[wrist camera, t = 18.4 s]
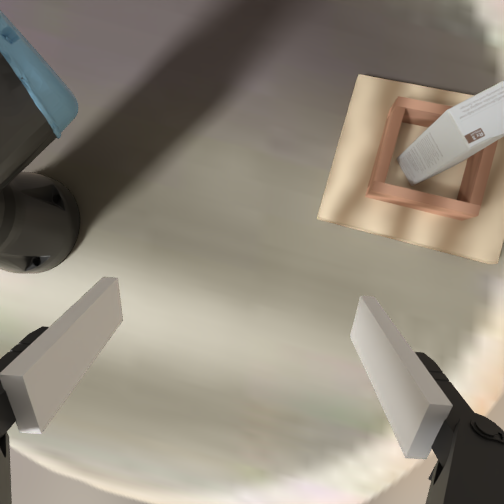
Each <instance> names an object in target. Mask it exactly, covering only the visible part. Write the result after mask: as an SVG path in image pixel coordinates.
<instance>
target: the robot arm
mask: <svg viewBox="0 0 504 504" xmlns="http://www.w3.org/2000/svg"><path fill="white" fill-rule="evenodd" d="M77 113H78V103H77V100H76V98H75V96H74V95H73V93H72V92H71V91H70V89H69V88H68V87H67V86H66V85H65V83H64V82H63V81H62V80H61V79H60V77H59V76H58V75H57V74H56V73H55V72H54V70H53V69H52V68H51V67H50V66H49V65H48V63H47V62H46V61H45V60H44V59H43V58H42V57H41V55H40V54H39V53H38V52H37V51H36V50H35V49H34V48H33V46H32V45H31V44H30V43H29V42H28V41H27V40H26V39H25V37H24V36H23V35H22V34H21V33H20V32H19V31H18V29H17V28H16V27H15V26H14V25H13V24H12V23H11V22H10V20H9V19H8V18H7V17H6V16H5V15H4V14H3V13H2V12H1V10H0V269H2V270H5V271H8V272H12V273H41V272H44V271H47V270H50V269H52V268H53V267H55V266H57V265H58V264H59V263H61V262H62V261H63V260H64V259H65V258H66V257H67V255H68V254H69V253H70V251H71V250H72V248H73V246H74V244H75V242H76V239H77V236H78V232H79V225H80V217H79V210H78V206H77V203H76V201H75V199H74V197H73V195H72V194H71V192H70V191H69V190H68V189H67V188H66V187H65V186H64V185H63V184H61V183H60V182H58V181H56V180H54V179H51V178H49V177H46V176H44V175H41V174H37V173H32V172H21V171H22V170H23V169H24V168H25V167H27V166H28V165H29V164H30V163H31V162H32V161H33V160H34V159H35V158H36V157H37V156H38V155H39V154H40V153H41V152H42V151H43V150H44V149H45V148H46V147H47V146H48V145H49V144H50V143H51V142H52V141H53V140H54V139H55V138H58V139H59V138H60V137H61V132H62V131H63V130H64V129H65V128H66V127H67V126H68V125H69V124H70V123H71V121H72V120H73V119H74V118H75V117H76V115H77ZM122 321H123V316H122V308H121V300H120V292H119V284H118V278H113V277H103V278H102V279H100V280H99V281H98V282H97V283H96V284H95V285H94V286H93V287H92V288H91V289H90V290H89V291H88V292H86V293H85V294H84V295H83V296H82V297H81V298H80V299H79V300H78V301H77V302H76V303H75V304H74V305H72V306H71V307H70V308H69V309H68V310H67V311H66V312H65V313H64V314H63V315H62V316H61V317H60V318H59V319H57V320H56V321H55V322H54V323H53V324H52V325H51V326H50V327H41V328H39V329H37V330H35V331H33V332H32V333H30V334H28V335H27V336H26V337H25V338H24V339H23V340H22V341H20V342H19V344H18V345H16V346H15V347H14V348H12V349H11V350H10V352H8V353H7V354H6V355H4V356H3V357H2V358H1V359H0V504H11V503H12V501H11V475H10V448H9V436H8V434H7V431H8V429H9V428H10V427H11V426H12V425H13V424H14V422H15V421H16V424H17V426H18V429H19V432H21V433H36V434H42V432H43V431H44V429H45V428H46V427H47V425H48V424H49V422H50V421H51V420H52V418H53V417H54V415H55V414H56V413H57V411H58V410H59V409H60V407H61V406H62V404H63V403H64V402H65V400H66V399H67V397H68V396H69V395H70V393H71V392H72V390H73V389H74V388H75V386H76V385H77V384H78V382H79V381H80V379H81V378H82V377H83V375H84V374H85V372H86V371H87V370H88V368H89V367H90V365H91V364H92V363H93V361H94V360H95V359H96V357H97V356H98V354H99V353H100V352H101V350H102V349H103V347H104V346H105V345H106V343H107V342H108V340H109V339H110V338H111V336H112V335H113V334H114V332H115V331H116V329H117V328H118V327H119V325H120V324H121V322H122ZM350 337H351V340H352V342H353V344H354V346H355V348H356V351H357V353H358V355H359V357H360V359H361V362H362V364H363V366H364V368H365V370H366V373H367V375H368V377H369V379H370V381H371V383H372V386H373V388H374V390H375V392H376V394H377V397H378V399H379V401H380V403H381V405H382V408H383V410H384V412H385V414H386V416H387V419H388V421H389V423H390V425H391V427H392V430H393V432H394V434H395V436H396V438H397V441H398V443H399V445H400V447H401V449H402V452H403V454H404V456H405V458H414V459H427V457H428V455H429V453H430V451H431V449H433V451H434V453H435V455H436V457H437V458H438V461H437V463H436V465H435V467H434V469H433V471H432V473H431V475H430V477H429V480H431V485H430V489H429V493H428V497H427V501H426V504H504V431H503V430H502V429H501V428H500V427H499V426H497V425H496V424H495V423H494V422H492V421H491V420H489V419H488V418H486V417H484V416H482V415H479V414H477V413H474V412H473V410H472V409H471V408H470V407H469V405H468V404H467V403H466V401H465V400H464V399H463V398H462V396H461V395H460V394H459V392H458V391H457V390H456V389H455V387H454V386H453V385H452V383H451V382H449V380H448V378H447V377H446V376H445V374H443V373H442V371H441V369H440V368H439V367H438V365H437V364H436V363H435V362H434V361H433V360H432V359H431V358H429V357H428V356H427V355H426V354H424V353H421V352H414V351H413V349H412V348H411V347H410V345H409V344H408V342H407V341H406V340H405V338H404V337H403V335H402V334H401V333H400V331H399V330H398V328H397V327H396V326H395V324H394V323H393V321H392V320H391V319H390V317H389V316H388V314H387V313H386V312H385V310H384V309H383V308H382V306H381V305H380V303H379V302H378V301H377V299H376V298H375V297H374V296H360V300H359V304H358V308H357V311H356V315H355V319H354V323H353V327H352V331H351V335H350Z"/></svg>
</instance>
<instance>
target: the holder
mask: <svg viewBox="0 0 504 504" xmlns="http://www.w3.org/2000/svg"><path fill="white" fill-rule="evenodd" d="M471 97H473V95H468V94H462V93H457V92H452V91H446V90H441V89H436V88H430V87H425V86H419V85H414V84H409V83H403V82H398V81H392V80H387V79H382V78H376V77H371V76H366V75H360V74H359V75H358V78H357V80H356V83H355V87H354V90H353V94H352V97H351V101H350V104H349V108H348V111H347V115H346V118H345V122H344V125H343V129H342V132H341V136H340V139H339V143H338V146H337V150H336V153H335V157H334V160H333V164H332V167H331V171H330V174H329V178H328V181H327V185H326V188H325V192H324V195H323V199H322V202H321V206H320V209H319V213H318V216H317V219H319V220H323V221H326V222H330V223H334V224H338V225H342V226H345V227H349V228H353V229H357V230H361V231H364V232H368V233H372V234H376V235H380V236H384V237H387V238H391V239H395V240H399V241H403V242H406V243H410V244H414V245H418V246H422V247H426V248H429V249H433V250H437V251H441V252H445V253H448V254H452V255H456V256H460V257H464V258H467V259H471V260H475V261H479V262H483V263H487V264H498V260H499V256H500V252H501V249H502V245H503V241H504V137H502V138H500V139H499V140H497V141H495V142H494V143H492V144H490V145H489V146H487V147H485V148H484V149H482V150H480V151H479V152H477V153H475V154H474V155H472V156H470V157H469V158H467V159H466V160H464V161H462V162H460V163H459V164H457V165H455V166H453V167H451V168H449V169H447V170H445V171H443V172H441V173H439V174H437V175H435V176H433V177H430V178H428V179H426V180H424V181H422V182H420V183H418V184H415V185H413V186H411V185H410V183H409V181H408V180H407V178H406V176H405V174H404V173H403V171H402V169H401V167H400V165H399V163H398V161H397V158H398V157H399V156H400V155H401V154H402V153H403V152H404V151H405V150H406V149H407V148H408V147H409V146H410V145H411V144H412V143H413V142H414V141H415V140H416V139H417V138H418V137H419V136H420V135H421V134H422V133H423V132H424V131H425V130H426V129H427V128H428V127H429V126H430V125H432V124H433V123H434V122H435V121H436V120H437V119H438V118H439V117H440V116H441V115H442V114H443V113H444V112H445V111H446V110H447V109H450V108H452V107H453V106H455V105H457V104H459V103H461V102H463V101H465V100H467V99H469V98H471Z"/></svg>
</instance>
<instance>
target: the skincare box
mask: <svg viewBox="0 0 504 504" xmlns="http://www.w3.org/2000/svg"><path fill="white" fill-rule="evenodd" d="M502 137H504V80H503V81H501V82H500V83H498V84H496V85H494V86H492V87H490V88H488V89H486V90H484V91H482V92H480V93H478V94H476V95H475V96H473V97H471V98H469V99H467V100H465V101H463V102H461V103H459V104H457V105H455V106H453V107H452V108H450V109H447V110H446V111H445V112H444V113H443V114H442V115H441V116H440V117H439V118H438V119H437V120H436V121H435V122H434V123H433V124H432V125H430V126H429V127H428V128H427V129H426V130H425V131H424V132H423V133H422V134H421V135H420V136H419V137H418V138H417V139H416V140H415V141H414V142H413V143H412V144H411V145H410V146H409V147H408V148H407V149H406V150H405V151H404V152H403V153H402V154H401V155H400V156H399V157H398V158H397V161H398V163H399V165H400V167H401V169H402V171H403V173H404V174H405V176H406V178H407V180H408V181H409V183H410V185H411V186H413V185H415V184H418V183H420V182H422V181H424V180H426V179H428V178H430V177H433V176H435V175H437V174H439V173H441V172H443V171H445V170H447V169H449V168H451V167H453V166H455V165H457V164H459V163H460V162H462V161H464V160H466V159H467V158H469V157H470V156H472V155H474V154H475V153H477V152H479V151H480V150H482V149H484V148H485V147H487V146H489V145H490V144H492V143H494V142H495V141H497V140H499V139H500V138H502Z"/></svg>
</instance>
